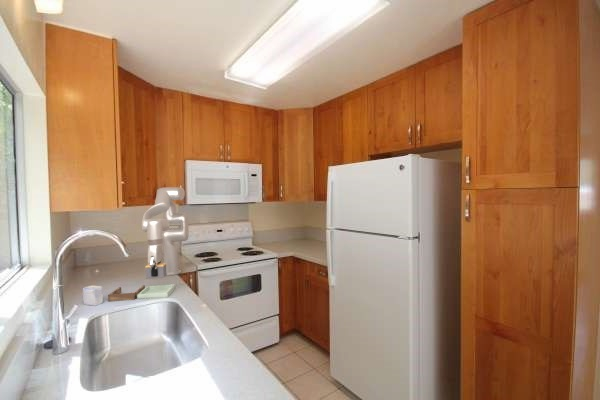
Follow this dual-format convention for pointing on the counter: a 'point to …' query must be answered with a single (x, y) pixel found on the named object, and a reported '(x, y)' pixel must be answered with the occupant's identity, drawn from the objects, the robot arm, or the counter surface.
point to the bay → (123, 295)
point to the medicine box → (92, 295)
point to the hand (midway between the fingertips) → (156, 274)
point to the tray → (156, 291)
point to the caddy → (161, 271)
